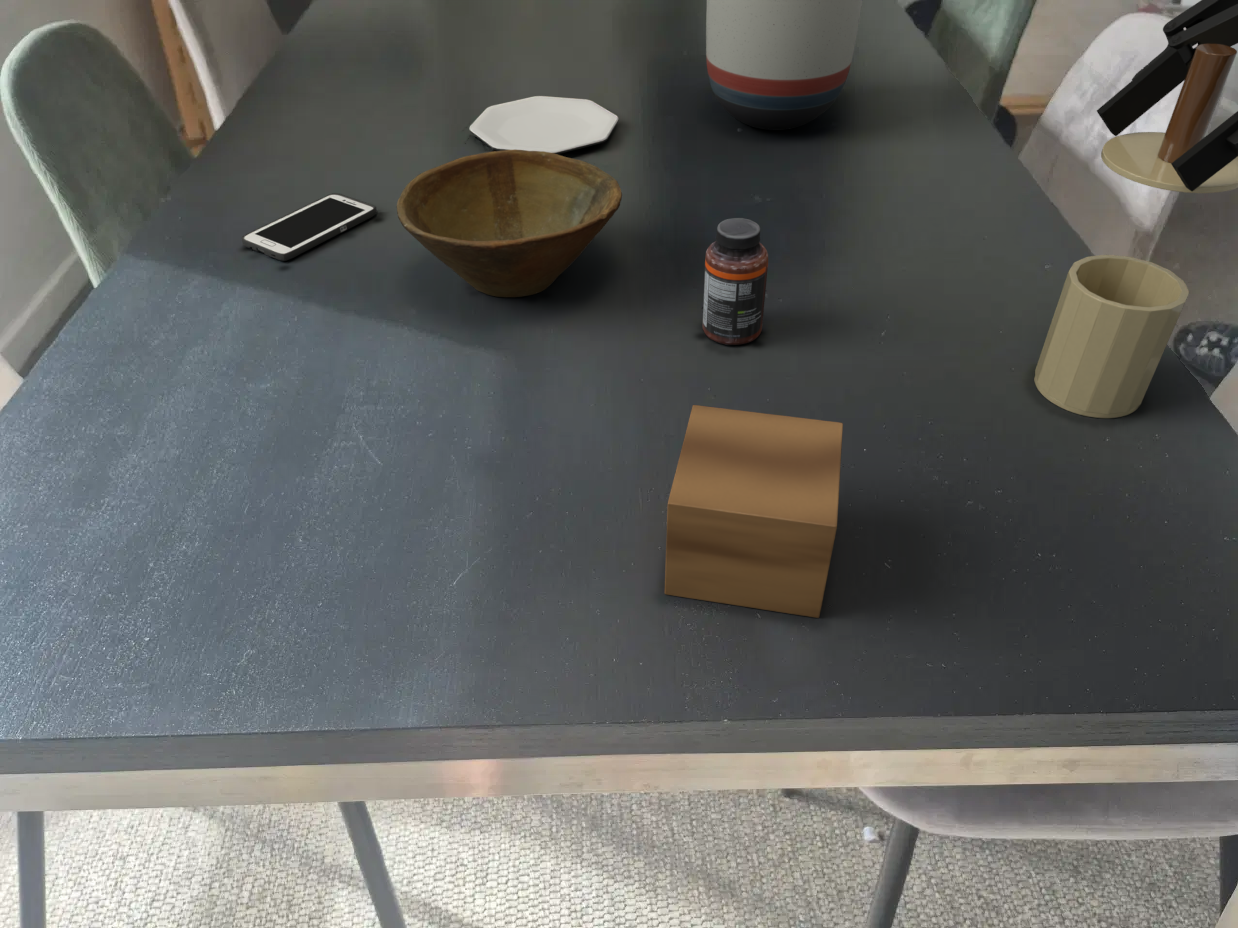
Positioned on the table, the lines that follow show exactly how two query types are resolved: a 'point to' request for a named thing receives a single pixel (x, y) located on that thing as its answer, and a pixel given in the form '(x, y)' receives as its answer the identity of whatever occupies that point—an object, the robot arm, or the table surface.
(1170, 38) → the robot arm
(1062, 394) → the jar
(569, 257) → the bowl
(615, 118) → the plate
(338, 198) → the cell phone
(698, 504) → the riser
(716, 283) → the supplement bottle
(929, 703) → the table surface
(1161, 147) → the lid
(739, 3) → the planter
